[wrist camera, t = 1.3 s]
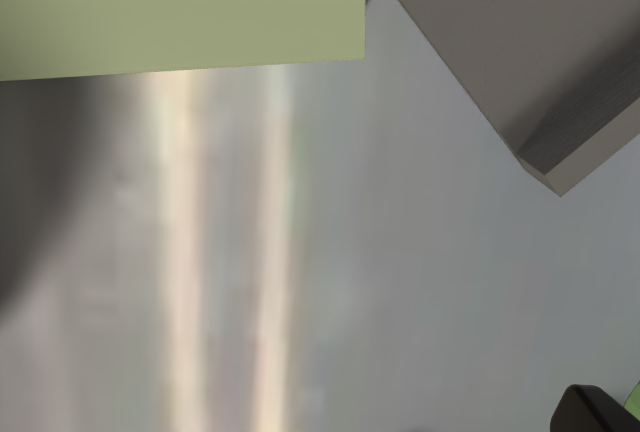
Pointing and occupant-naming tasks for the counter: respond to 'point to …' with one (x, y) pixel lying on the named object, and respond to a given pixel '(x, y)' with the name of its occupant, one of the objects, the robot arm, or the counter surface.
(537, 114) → the grey square tray
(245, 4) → the deck plate
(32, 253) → the counter surface
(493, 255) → the counter surface
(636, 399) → the mug
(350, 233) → the counter surface
